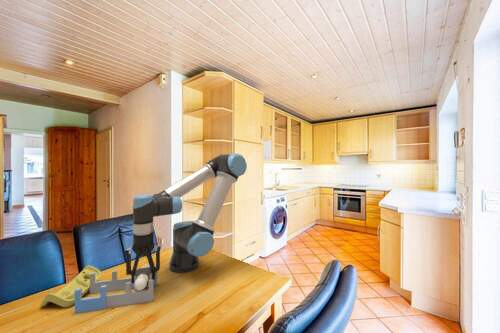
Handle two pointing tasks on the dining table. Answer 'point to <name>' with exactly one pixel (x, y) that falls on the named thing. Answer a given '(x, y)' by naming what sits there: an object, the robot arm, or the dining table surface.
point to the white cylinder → (142, 277)
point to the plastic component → (73, 288)
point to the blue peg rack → (112, 299)
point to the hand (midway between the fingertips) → (143, 289)
